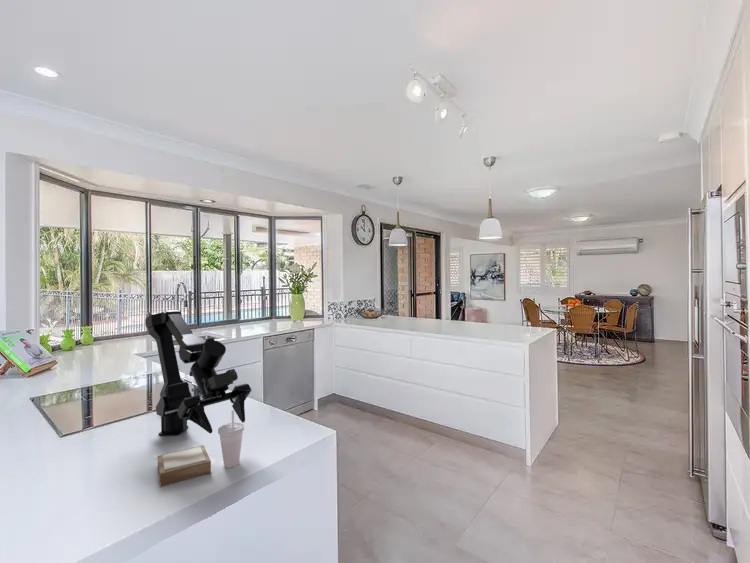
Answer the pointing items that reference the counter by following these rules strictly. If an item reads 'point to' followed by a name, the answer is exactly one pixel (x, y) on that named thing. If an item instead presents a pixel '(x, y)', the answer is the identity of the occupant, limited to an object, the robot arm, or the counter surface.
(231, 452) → the smoothie
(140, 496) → the counter surface
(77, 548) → the counter surface
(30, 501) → the counter surface
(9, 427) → the counter surface
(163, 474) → the plinth
